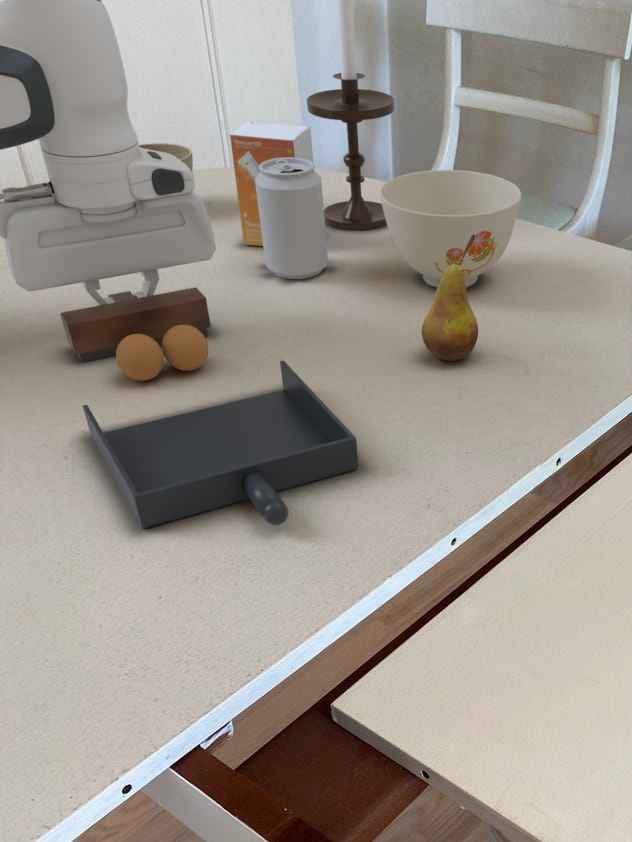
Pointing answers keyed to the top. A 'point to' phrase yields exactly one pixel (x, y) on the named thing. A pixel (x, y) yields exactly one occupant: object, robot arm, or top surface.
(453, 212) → the bowl
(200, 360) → the ball right
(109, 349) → the brush
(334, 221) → the candlestick
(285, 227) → the can
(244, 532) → the top surface
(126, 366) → the ball left
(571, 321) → the top surface
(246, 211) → the small box
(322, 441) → the dustpan
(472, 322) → the fruit
